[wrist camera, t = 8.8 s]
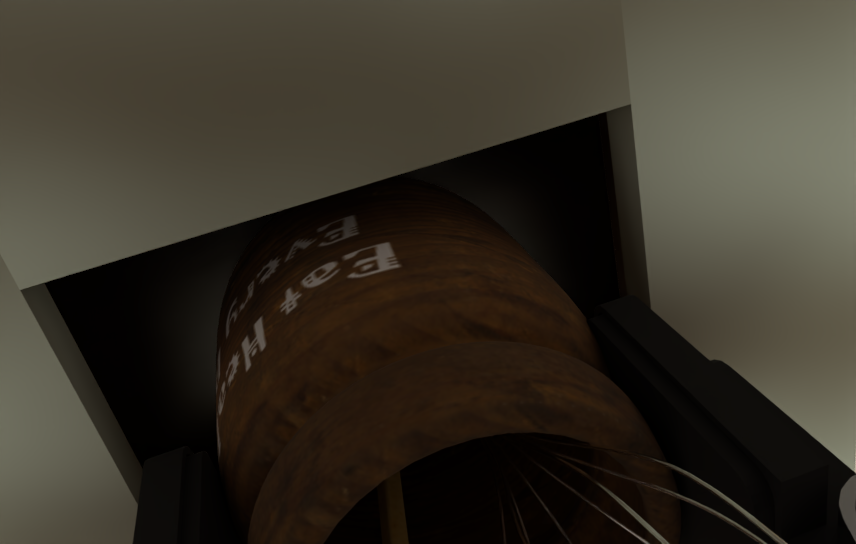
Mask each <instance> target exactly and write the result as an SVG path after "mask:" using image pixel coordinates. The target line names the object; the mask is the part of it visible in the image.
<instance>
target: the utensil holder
mask: <svg viewBox="0 0 856 544" xmlns="http://www.w3.org/2000/svg"><path fill="white" fill-rule="evenodd" d="M216 426H217V445H218V460H219V469H220V475H221V482H222V486H223V490H224V494H225V498H226V502H227V505H228V509H229V512H230V515H231V518H232V521H233V523H234V526H235V528H236V531H237V533H238V535H239V537H240V539H241V541H242V543H243V544H679V541H680V534H681V505H680V499H681V500H683V501H686V502H688V503H690V504H693V505H695V506H697V507H699V508H701V509H703V510H705V511H707V512H709V513H711V514H713V515H715V516H717V517H719V518H720V519H722V520H724V521H726V522H727V523H729V524H731V525H733V526H734V527H736V528H737V529H739V530H740V531H742V532H743V533H745V534H746V535H748V536H749V537H751V538H752V539H754V540H755V541H757V542H758V543H760V544H768V543H767V542H765V541H764V540H763V539H761V538H760V537H758V536H757V535H755V534H754V533H752V532H751V531H749V530H748V529H746V528H745V527H743V526H741V525H740V524H738V523H737V522H735V521H733V520H732V519H730V518H728V517H726V516H724V515H723V514H721V513H719V512H717V511H716V510H713V509H711V508H709V507H707V506H705V505H703V504H701V503H699V502H697V501H695V500H692V499H690V498H688V497H685V496H683V495H680V494H679V493H678V488H677V484H676V481H675V479H674V476H673V473H672V470H674V471H676V472H678V473H680V474H682V475H684V476H686V477H688V478H690V479H691V480H693V481H694V482H696V483H698V484H699V485H701V486H702V487H704V488H706V489H707V490H709V491H711V492H712V493H713V494H715V495H716V496H718V497H719V498H720V499H722V500H723V501H724V502H726V503H727V504H729V505H730V506H731V507H733V508H734V509H735V510H737V511H738V512H739V513H741V514H742V515H743V516H744V517H746V518H747V519H748V520H750V521H751V522H752V523H753V524H755V525H756V526H757V527H758V528H760V529H761V530H762V531H763V532H765V533H766V534H767V535H768V536H769V537H771V538H772V539H773V540H774V541H776V542H777V543H778V544H787V543H786V542H785V541H784V540H782V539H781V538H780V537H779V536H777V535H776V534H775V533H774V532H772V531H771V530H770V529H769V528H767V527H766V526H765V525H764V524H762V523H761V522H760V521H759V520H757V519H756V518H755V517H753V516H752V515H751V514H749V513H748V512H747V511H746V510H744V509H743V508H742V507H740V506H739V505H738V504H737V503H735V502H734V501H732V500H731V499H729V498H728V497H727V496H725V495H724V494H722V493H721V492H720V491H718V490H717V489H715V488H714V487H712V486H711V485H709V484H707V483H706V482H704V481H702V480H701V479H699V478H697V477H696V476H694V475H693V474H691V473H689V472H687V471H685V470H683V469H681V468H679V467H677V466H675V465H672V464H670V463H668V462H667V460H666V458H665V456H664V454H663V452H662V450H661V448H660V446H659V444H658V442H657V440H656V438H655V436H654V435H653V433H652V431H651V429H650V427H649V426H648V424H647V422H646V421H645V419H644V417H643V416H642V414H641V413H640V411H639V410H638V409H637V407H636V406H635V405H634V403H633V402H632V401H631V400H630V398H629V397H628V396H627V395H626V394H625V393H624V392H623V391H622V390H621V389H620V388H619V387H618V386H617V385H616V384H615V383H614V382H613V381H611V377H610V374H609V370H608V367H607V364H606V362H605V359H604V356H603V353H602V351H601V348H600V346H599V344H598V342H597V340H596V337H595V335H594V333H593V332H592V330H591V328H590V326H589V325H588V323H587V319H586V318H585V316H584V315H583V314H582V312H581V311H580V310H579V309H578V307H577V306H576V305H575V303H574V302H573V301H572V300H571V299H570V297H569V296H568V295H567V294H566V293H565V292H564V291H563V289H562V288H561V287H560V286H559V285H558V284H557V283H556V282H555V281H554V280H553V279H552V278H551V276H550V275H549V274H548V273H547V272H546V271H545V270H544V269H543V268H542V267H541V266H540V265H539V264H538V263H537V262H536V261H535V260H534V259H533V258H532V257H531V256H530V255H529V254H528V253H527V252H526V250H525V249H524V248H523V247H522V246H521V245H520V244H519V243H518V242H517V241H516V240H515V239H514V238H513V237H512V236H511V235H510V234H509V233H508V232H507V231H506V230H505V229H504V228H502V227H501V226H500V225H499V224H498V223H497V222H496V221H495V220H493V219H492V218H491V217H490V216H489V215H488V214H487V213H485V212H484V211H483V210H481V209H480V208H479V207H477V206H476V205H474V204H473V203H471V202H470V201H468V200H466V199H465V198H463V197H461V196H459V195H458V194H456V193H454V192H452V191H450V190H448V189H446V188H443V187H440V186H438V185H435V184H432V183H428V182H425V181H421V180H416V179H411V178H405V177H396V176H393V177H390V178H386V179H383V180H380V181H376V182H373V183H370V184H367V185H363V186H360V187H357V188H353V189H350V190H347V191H344V192H340V193H337V194H334V195H330V196H327V197H324V198H321V199H317V200H314V201H311V202H307V203H304V204H301V205H298V206H294V207H291V208H288V209H284V210H282V211H281V212H280V213H278V214H277V215H276V216H275V217H273V218H272V219H271V220H270V221H269V222H268V223H267V224H266V225H265V226H264V227H263V228H262V229H261V230H260V231H259V232H258V233H257V235H256V236H255V237H254V238H253V240H252V241H251V242H250V243H249V245H248V246H247V248H246V249H245V251H244V252H243V254H242V255H241V257H240V259H239V260H238V262H237V264H236V266H235V268H234V270H233V272H232V275H231V277H230V279H229V282H228V285H227V288H226V291H225V294H224V298H223V302H222V306H221V310H220V317H219V324H218V333H217V353H216ZM671 469H672V470H671Z"/></svg>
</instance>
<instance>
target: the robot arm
mask: <svg viewBox="0 0 856 544" xmlns="http://www.w3.org/2000/svg"><path fill="white" fill-rule="evenodd" d="M587 323H588V325H589V326H590V328H591V330H592V332H593V333H594V335H595V337H596V340H597V342H598V344H599V346H600V348H601V351H602V353H603V356H604V359H605V362H606V364H607V367H608V370H609V374H610V377H611V381H613V382H614V383H615V384H616V385H617V386H618V387H619V388H620V389H621V390H622V391H623V392H624V393H625V394H626V395H627V396H628V397H629V398H630V400H631V401H632V402H633V403H634V405H635V406H636V407H637V409H638V410H639V411H640V413H641V414H642V416H643V417H644V419H645V421H646V422H647V424H648V426H649V427H650V429H651V431H652V433H653V435H654V436H655V438H656V440H657V442H658V444H659V446H660V448H661V450H662V452H663V454H664V456H665V458H666V460H667V462H668V463H670V464H672V465H675V466H677V467H679V468H681V469H683V470H685V471H687V472H689V473H691V474H693V475H694V476H696V477H697V478H699V479H701V480H702V481H704V482H706V483H707V484H709V485H711V486H712V487H714V488H715V489H717V490H718V491H720V492H721V493H722V494H724V495H725V496H727V497H728V498H729V499H731V500H732V501H734V502H735V503H737V504H738V505H739V506H740V507H742V508H743V509H744V510H746V511H747V512H748V513H749V514H751V515H752V516H753V517H755V518H756V519H757V520H759V521H760V522H761V523H762V524H764V525H765V526H766V527H767V528H769V529H770V530H771V531H772V532H774V533H775V534H776V535H777V536H779V537H780V538H781V539H782V540H784V541H785V542H786V543H787V544H856V473H855V472H854V471H853V470H852V469H850V468H849V467H848V466H847V465H846V464H844V463H843V462H842V461H841V460H840V459H839V458H837V457H836V456H835V455H834V454H833V453H832V452H830V451H829V450H828V449H827V448H826V447H824V446H823V445H822V444H821V443H820V442H819V441H817V440H816V439H815V438H814V437H813V436H812V435H810V434H809V433H808V432H807V431H806V430H804V429H803V428H802V427H801V426H800V425H799V424H797V423H796V422H795V421H794V420H793V419H792V418H790V417H789V416H788V415H787V414H786V413H784V412H783V411H782V410H781V409H780V408H779V407H777V406H776V405H775V404H774V403H773V402H772V401H770V400H769V399H768V398H767V397H766V396H764V395H763V394H762V393H761V392H760V391H759V390H757V389H756V388H755V387H754V386H753V385H752V384H750V383H749V382H748V381H747V380H746V379H744V378H743V377H742V376H741V375H740V374H739V373H737V372H736V371H735V370H734V369H733V368H732V367H730V366H729V365H727V364H726V363H724V362H723V361H721V360H715V359H714V360H711V361H710V360H709V359H708V358H706V357H705V356H704V355H703V354H702V353H701V352H700V351H698V350H697V349H696V348H695V347H694V346H693V345H692V344H690V343H689V342H688V341H687V340H686V339H685V338H683V337H682V336H681V335H680V334H679V333H678V332H677V331H675V330H674V329H673V328H672V327H671V326H670V325H669V324H667V323H666V322H665V321H664V320H663V319H662V318H661V317H659V316H658V315H657V314H656V313H655V312H654V311H653V310H651V309H650V308H649V307H648V306H647V305H646V304H645V303H643V302H642V301H641V300H640V299H639V298H638V297H636V296H634V295H628V296H625V297H622V298H619V299H616V300H613V301H610V302H607V303H604V304H601V305H598V306H597V307H596V308H595V311H594V317H593V318H591V319H588V320H587ZM671 470H672V469H671ZM672 473H673V476H674V479H675V481H676V484H677V488H678V493H679V494H680V495H683V496H685V497H688V498H690V499H692V500H695V501H697V502H699V503H701V504H703V505H705V506H707V507H709V508H711V509H713V510H716V511H717V512H719V513H721V514H723V515H724V516H726V517H728V518H730V519H732V520H733V521H735V522H737V523H738V524H740V525H741V526H743V527H745V528H746V529H748V530H749V531H751V532H752V533H754V534H755V535H757V536H758V537H760V538H761V539H763V540H764V541H765V542H767V543H768V544H778V543H777V542H776V541H774V540H773V539H772V538H771V537H769V536H768V535H767V534H766V533H765V532H763V531H762V530H761V529H760V528H758V527H757V526H756V525H755V524H753V523H752V522H751V521H750V520H748V519H747V518H746V517H744V516H743V515H742V514H741V513H739V512H738V511H737V510H735V509H734V508H733V507H731V506H730V505H729V504H727V503H726V502H724V501H723V500H722V499H720V498H719V497H718V496H716V495H715V494H713V493H712V492H711V491H709V490H707V489H706V488H704V487H702V486H701V485H699V484H698V483H696V482H694V481H693V480H691V479H690V478H688V477H686V476H684V475H682V474H680V473H678V472H676V471H674V470H672ZM680 505H681V534H680V541H679V544H760V543H758V542H757V541H755V540H754V539H752V538H751V537H749V536H748V535H746V534H745V533H743V532H742V531H740V530H739V529H737V528H736V527H734V526H733V525H731V524H729V523H727V522H726V521H724V520H722V519H720V518H719V517H717V516H715V515H713V514H711V513H709V512H707V511H705V510H703V509H701V508H699V507H697V506H695V505H693V504H690V503H688V502H686V501H683V500H681V499H680ZM133 544H243V543H242V541H241V539H240V537H239V535H238V533H237V531H236V528H235V526H234V523H233V521H232V518H231V515H230V512H229V509H228V505H227V502H226V498H225V494H224V490H223V486H222V482H221V480H220V478H219V476H218V474H217V472H216V470H215V467H214V465H213V463H212V461H211V459H210V457H209V455H208V454H207V453H206V451H202V452H199V453H196V454H193V452H192V450H191V449H190V448H189V447H187V446H184V447H181V448H178V449H175V450H172V451H169V452H166V453H163V454H161V455H158V456H155V457H152V458H149V459H147V460H146V461H145V462H144V466H143V472H142V479H141V487H140V494H139V501H138V508H137V515H136V523H135V530H134V537H133Z"/></svg>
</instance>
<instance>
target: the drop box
mask: <svg viewBox="0 0 856 544" xmlns="http://www.w3.org/2000/svg"><path fill="white" fill-rule="evenodd" d="M597 114H598V118H599V126H600V135H601V143H602V152H603V160H604V168H605V177H606V185H607V193H608V202H609V210H610V218H611V227H612V235H613V244H614V252H615V260H616V269H617V277H618V285H619V294H620V298H622V297H625V296H628V295H634V296H636V297H638V298H639V299H640V300H641V301H642V302H643V303H645V304H646V305H647V306H648V307H649V308H650V309H651V310H653V311H654V312H655V313H656V314H657V315H658V316H659V317H661V318H662V319H663V320H664V321H665V322H666V323H667V324H669V325H670V326H671V327H672V328H673V329H674V330H675V331H677V332H678V333H679V334H680V335H681V336H682V337H683V338H685V339H686V340H687V341H688V342H689V343H690V344H692V345H693V346H694V347H695V348H696V349H697V350H698V351H700V352H701V353H702V354H703V355H704V356H705V357H706V358H708V359H709V360H710V361H711V360H714V359H715V360H721V361H723V362H724V363H726V364H727V365H729V366H730V367H732V368H733V369H734V370H735V371H736V372H737V373H739V374H740V375H741V376H742V377H743V378H744V379H746V380H747V381H748V382H749V383H750V384H752V385H753V386H754V387H755V388H756V389H757V390H759V391H760V392H761V393H762V394H763V395H764V396H766V397H767V398H768V399H769V400H770V401H772V402H773V403H774V404H775V405H776V406H777V407H779V408H780V409H781V410H782V411H783V412H784V413H786V414H787V415H788V416H789V417H790V418H792V419H793V420H794V421H795V422H796V423H797V424H799V425H800V426H801V427H802V428H803V429H804V430H806V431H807V432H808V433H809V434H810V435H812V436H813V437H814V438H815V439H816V440H817V441H819V442H820V443H821V444H822V445H823V446H824V447H826V448H827V449H828V450H829V451H830V452H832V453H833V454H834V455H835V456H836V457H837V458H839V459H840V460H841V461H842V462H843V463H844V464H846V465H847V466H848V467H849V468H850V469H852V470H853V471H854V470H855V452H856V0H0V544H133V537H134V530H135V523H136V515H137V508H138V501H139V494H140V487H141V479H142V472H143V469H142V467H141V465H140V463H139V461H138V460H137V458H136V456H135V454H134V452H133V450H132V448H131V446H130V444H129V443H128V441H127V439H126V437H125V435H124V433H123V431H122V429H121V427H120V426H119V424H118V422H117V420H116V418H115V416H114V414H113V412H112V410H111V408H110V407H109V405H108V403H107V401H106V399H105V397H104V395H103V393H102V391H101V390H100V388H99V386H98V384H97V382H96V380H95V378H94V376H93V374H92V373H91V371H90V369H89V367H88V365H87V363H86V361H85V359H84V357H83V356H82V354H81V352H80V350H79V348H78V346H77V344H76V342H75V340H74V338H73V337H72V335H71V333H70V331H69V329H68V327H67V325H66V323H65V321H64V320H63V318H62V316H61V314H60V312H59V310H58V308H57V306H56V304H55V303H54V301H53V299H52V297H51V295H50V293H49V291H48V289H47V287H46V285H45V284H44V283H45V282H48V281H51V280H54V279H58V278H61V277H64V276H68V275H71V274H74V273H77V272H81V271H84V270H87V269H91V268H94V267H97V266H100V265H104V264H107V263H110V262H114V261H117V260H120V259H123V258H127V257H130V256H133V255H137V254H140V253H143V252H146V251H150V250H153V249H156V248H160V247H163V246H166V245H169V244H173V243H176V242H179V241H183V240H186V239H189V238H192V237H196V236H199V235H202V234H206V233H209V232H212V231H215V230H219V229H222V228H225V227H229V226H232V225H235V224H238V223H242V222H245V221H248V220H252V219H255V218H258V217H261V216H265V215H268V214H271V213H275V212H278V211H281V210H284V209H288V208H291V207H294V206H298V205H301V204H304V203H307V202H311V201H314V200H317V199H321V198H324V197H327V196H330V195H334V194H337V193H340V192H344V191H347V190H350V189H353V188H357V187H360V186H363V185H367V184H370V183H373V182H376V181H380V180H383V179H386V178H390V177H393V176H396V175H399V174H403V173H406V172H409V171H413V170H416V169H419V168H422V167H426V166H429V165H432V164H436V163H439V162H442V161H445V160H449V159H452V158H455V157H459V156H462V155H465V154H469V153H472V152H475V151H478V150H482V149H485V148H488V147H492V146H495V145H498V144H501V143H505V142H508V141H511V140H515V139H518V138H521V137H524V136H528V135H531V134H534V133H538V132H541V131H544V130H547V129H551V128H554V127H557V126H561V125H564V124H567V123H570V122H574V121H577V120H580V119H584V118H587V117H590V116H593V115H597Z"/></svg>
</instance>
